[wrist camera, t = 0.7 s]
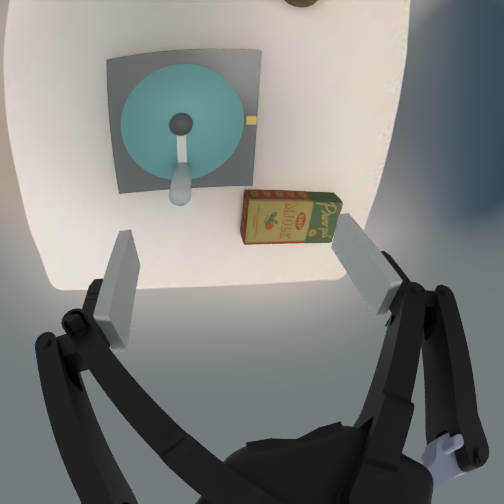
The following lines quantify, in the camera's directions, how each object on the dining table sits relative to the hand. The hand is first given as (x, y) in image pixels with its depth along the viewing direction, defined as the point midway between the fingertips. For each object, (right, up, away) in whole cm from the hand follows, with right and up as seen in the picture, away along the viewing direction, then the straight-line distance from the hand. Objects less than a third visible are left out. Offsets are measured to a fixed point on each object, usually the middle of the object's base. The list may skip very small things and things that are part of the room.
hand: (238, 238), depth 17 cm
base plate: (-9, +18, +17) cm, 26 cm away
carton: (+7, +6, +31) cm, 32 cm away
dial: (-8, +16, +16) cm, 24 cm away
